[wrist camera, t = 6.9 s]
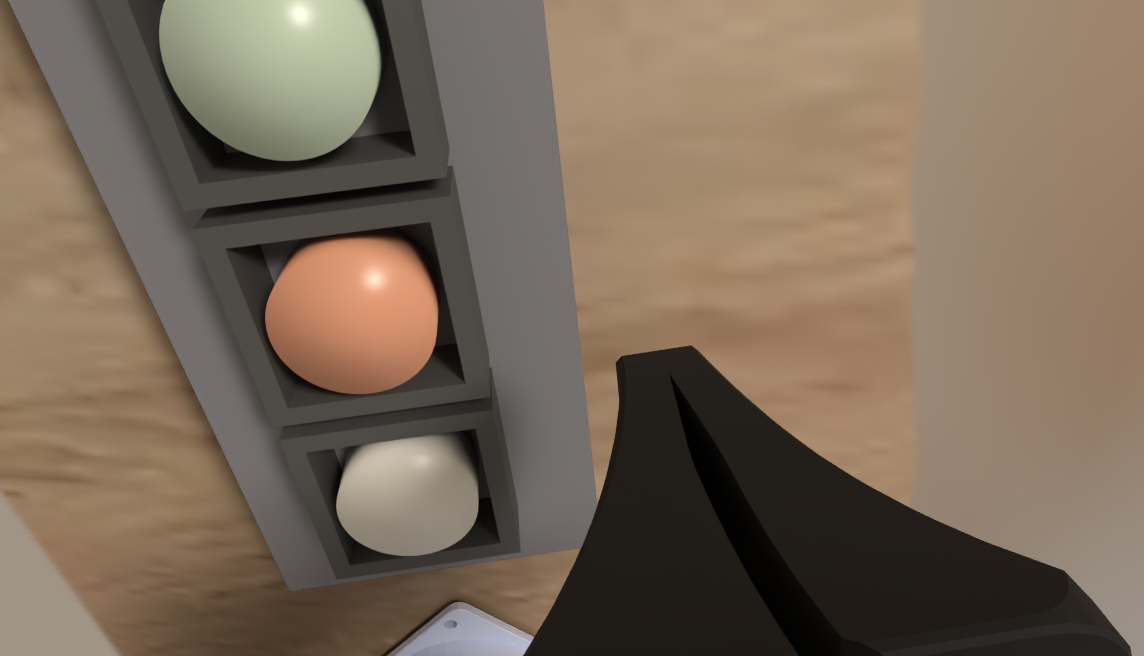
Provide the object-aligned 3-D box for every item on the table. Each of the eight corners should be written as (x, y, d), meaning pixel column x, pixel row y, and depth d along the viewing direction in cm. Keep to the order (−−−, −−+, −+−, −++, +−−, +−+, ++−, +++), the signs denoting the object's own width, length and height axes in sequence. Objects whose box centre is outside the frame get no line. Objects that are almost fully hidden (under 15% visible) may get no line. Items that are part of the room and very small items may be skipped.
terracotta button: (452, 344, 18) (450, 382, 17) (307, 364, 18) (294, 404, 17) (423, 211, 16) (417, 242, 15) (261, 232, 16) (241, 265, 15)
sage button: (403, 123, 15) (395, 148, 14) (229, 145, 15) (204, 172, 14) (360, -73, 13) (346, -66, 12) (159, -50, 13) (122, -41, 12)
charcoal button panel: (589, 479, 26) (610, 591, 22) (308, 519, 26) (276, 641, 22) (504, -278, 15) (514, -334, 11) (-4, -225, 14) (-196, -261, 10)
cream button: (487, 502, 21) (488, 545, 20) (364, 520, 21) (356, 564, 20) (466, 406, 19) (465, 446, 18) (330, 425, 19) (319, 467, 18)
